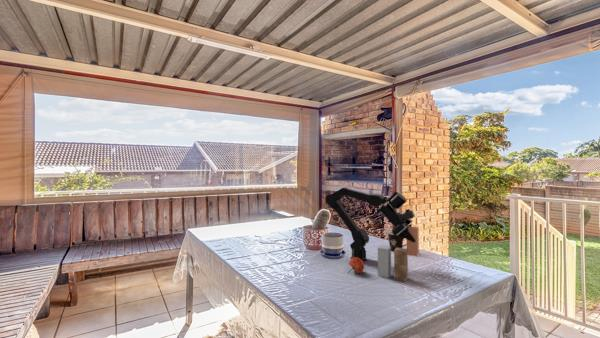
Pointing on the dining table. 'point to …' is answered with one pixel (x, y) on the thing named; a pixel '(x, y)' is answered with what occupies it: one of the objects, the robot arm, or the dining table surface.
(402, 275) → the walnut block
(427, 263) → the dining table surface
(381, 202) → the robot arm
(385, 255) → the slate block
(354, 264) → the pomegranate
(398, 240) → the coffee mug
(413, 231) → the rust block
